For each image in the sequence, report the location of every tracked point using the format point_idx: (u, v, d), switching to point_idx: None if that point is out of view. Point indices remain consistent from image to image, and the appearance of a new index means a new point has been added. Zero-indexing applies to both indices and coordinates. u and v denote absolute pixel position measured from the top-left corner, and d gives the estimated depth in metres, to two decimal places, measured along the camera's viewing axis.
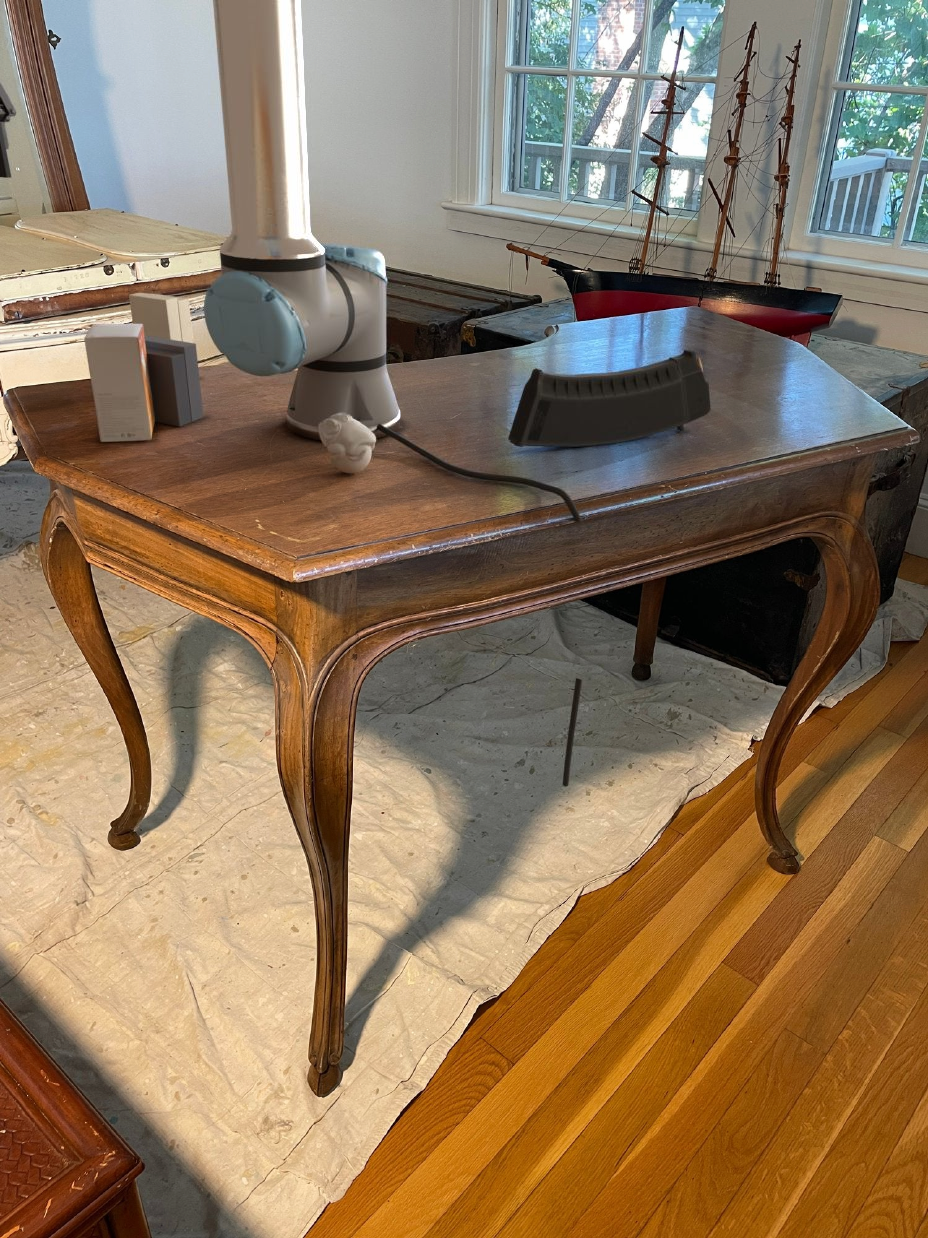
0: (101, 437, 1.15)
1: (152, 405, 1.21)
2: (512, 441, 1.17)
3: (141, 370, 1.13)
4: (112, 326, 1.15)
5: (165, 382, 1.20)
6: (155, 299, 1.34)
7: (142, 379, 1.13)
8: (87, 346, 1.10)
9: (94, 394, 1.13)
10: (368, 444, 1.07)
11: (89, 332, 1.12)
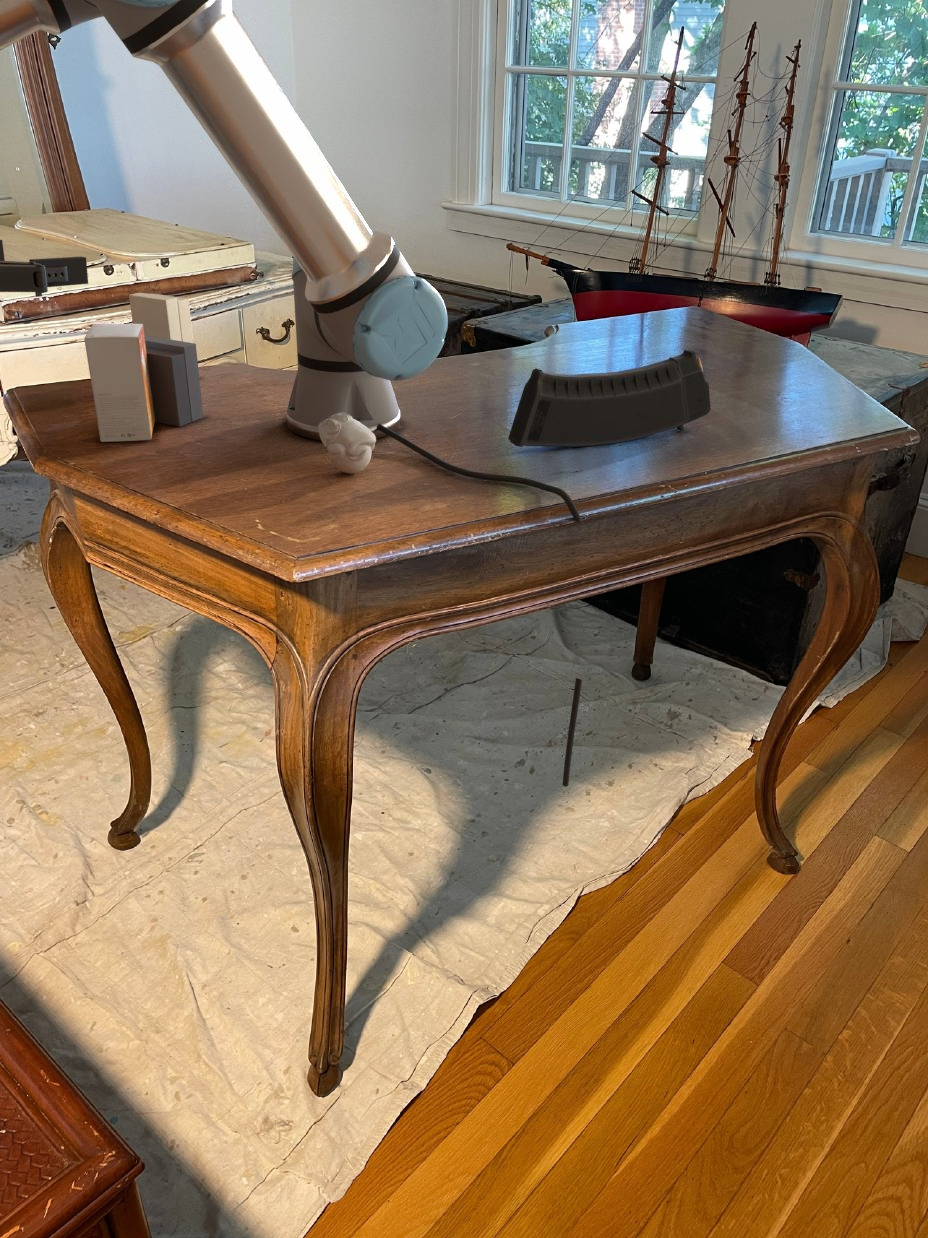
0: (101, 437, 1.15)
1: (152, 405, 1.21)
2: (512, 441, 1.17)
3: (141, 370, 1.13)
4: (112, 326, 1.15)
5: (165, 382, 1.20)
6: (155, 299, 1.34)
7: (142, 379, 1.13)
8: (87, 346, 1.10)
9: (94, 394, 1.13)
10: (368, 444, 1.07)
11: (89, 332, 1.12)
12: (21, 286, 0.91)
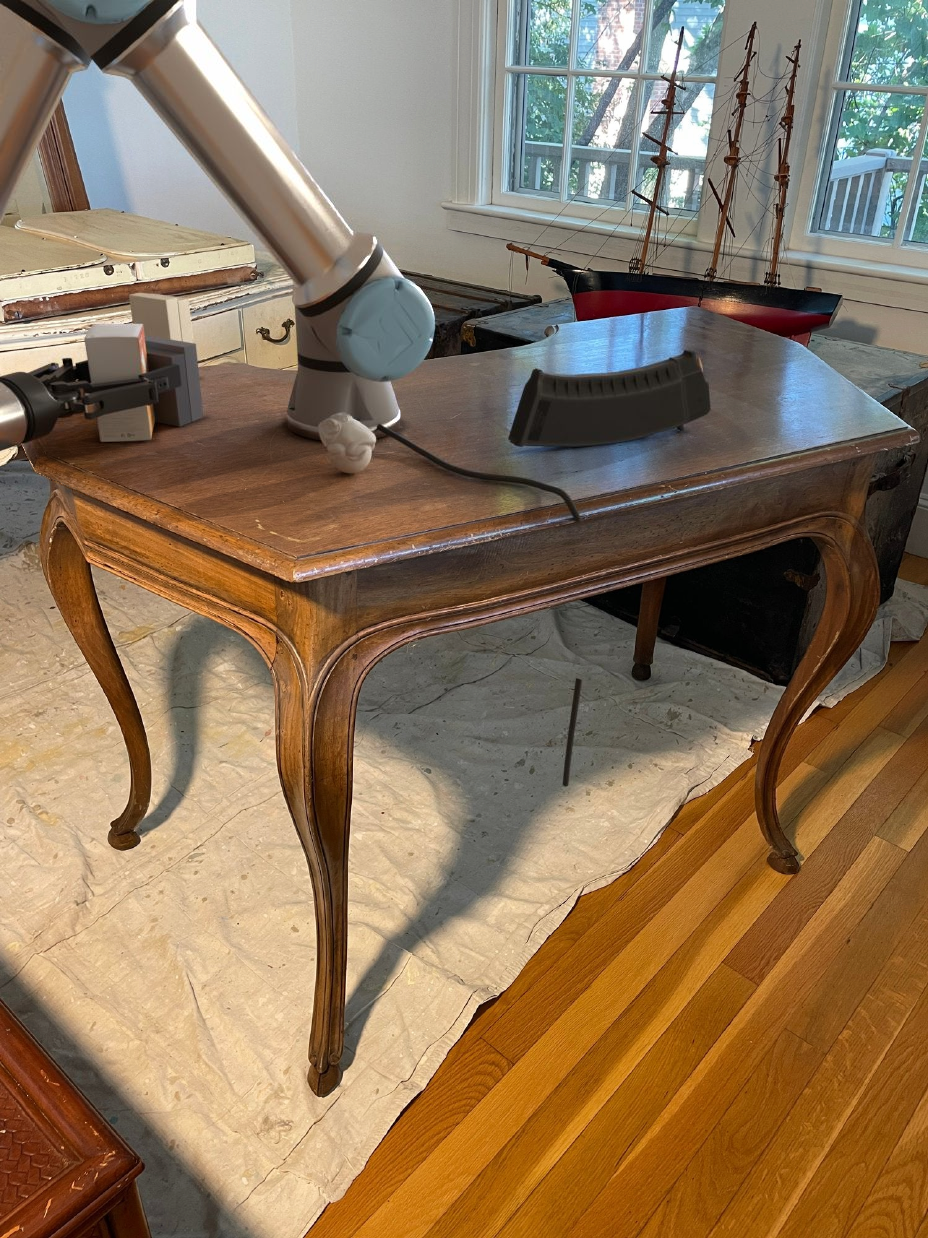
0: (101, 437, 1.15)
1: (152, 405, 1.21)
2: (512, 441, 1.17)
3: (141, 370, 1.13)
4: (112, 326, 1.15)
5: None
6: (155, 299, 1.34)
7: None
8: (87, 346, 1.10)
9: None
10: (368, 444, 1.07)
11: (89, 332, 1.12)
12: (141, 401, 1.09)
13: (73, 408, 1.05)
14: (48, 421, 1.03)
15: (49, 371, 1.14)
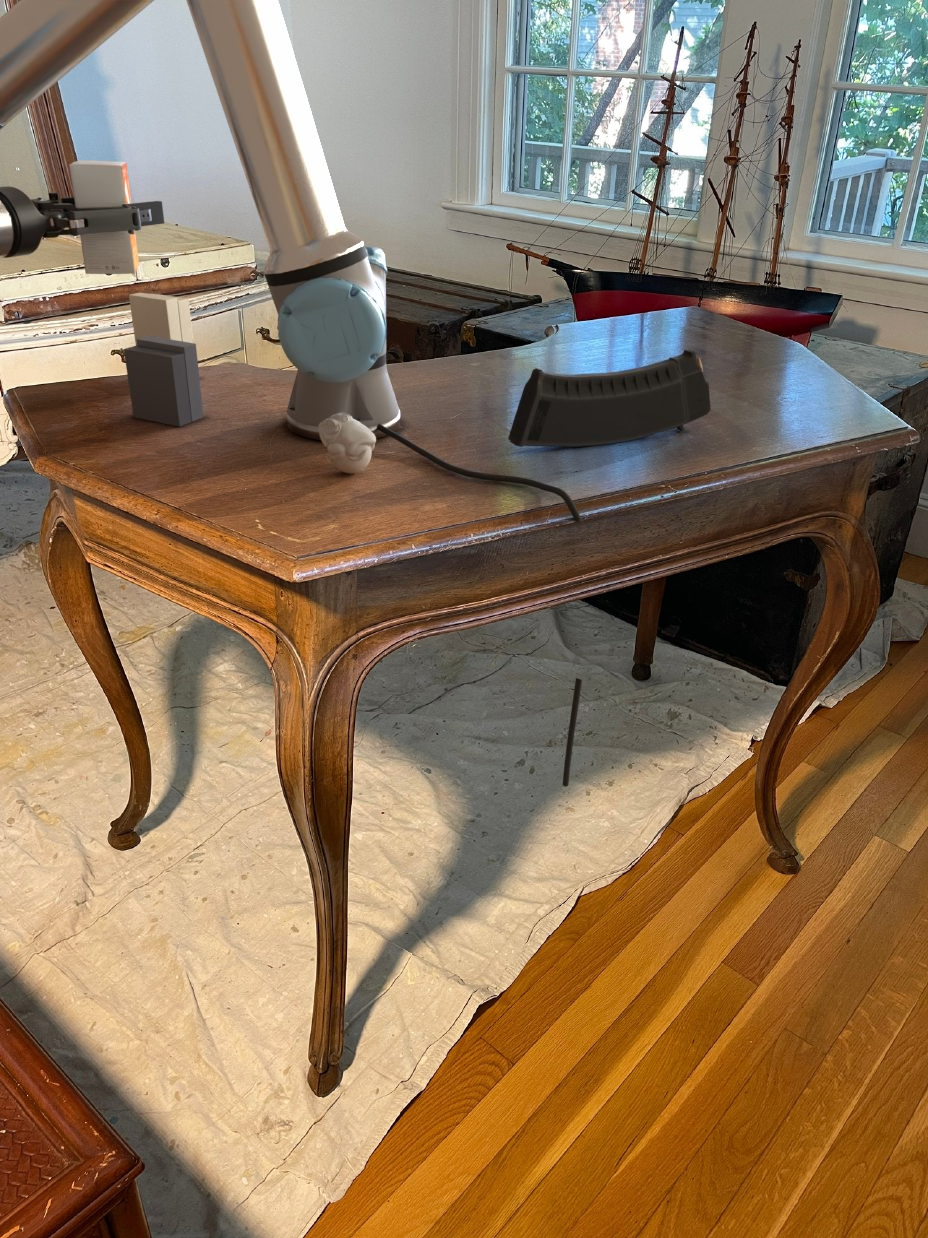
0: (86, 268, 1.19)
1: (136, 246, 1.25)
2: (512, 441, 1.17)
3: (124, 200, 1.17)
4: (97, 161, 1.19)
5: (165, 382, 1.20)
6: (155, 299, 1.34)
7: None
8: (72, 173, 1.14)
9: None
10: (368, 444, 1.07)
11: (74, 162, 1.16)
12: (124, 225, 1.13)
13: (58, 224, 1.09)
14: (34, 234, 1.07)
15: None
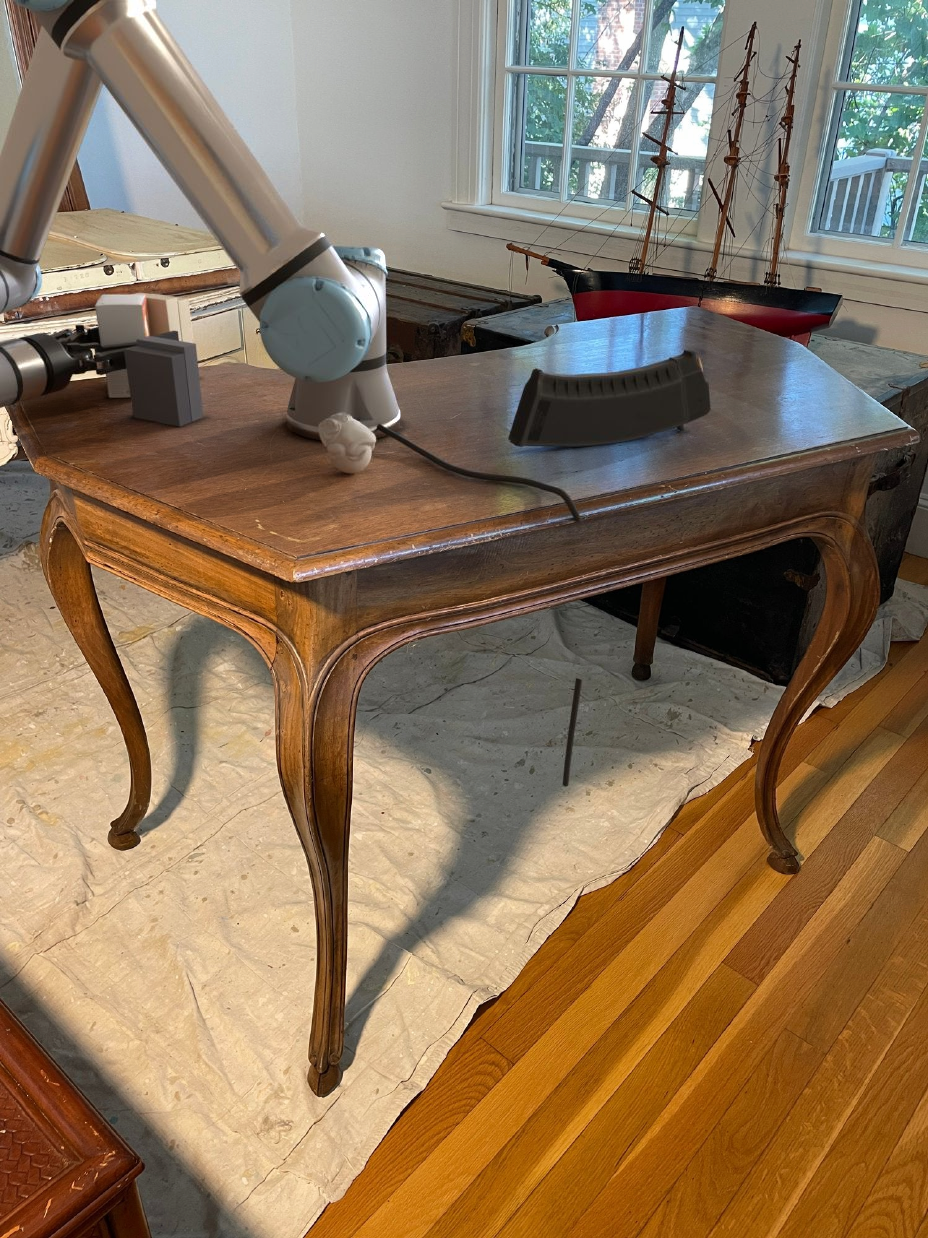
0: (109, 393, 1.32)
1: None
2: (512, 441, 1.17)
3: (144, 334, 1.29)
4: (119, 296, 1.31)
5: (165, 382, 1.20)
6: (155, 299, 1.34)
7: None
8: (97, 312, 1.26)
9: None
10: (368, 444, 1.07)
11: (99, 301, 1.28)
12: None
13: (86, 365, 1.21)
14: (65, 376, 1.20)
15: (64, 335, 1.31)
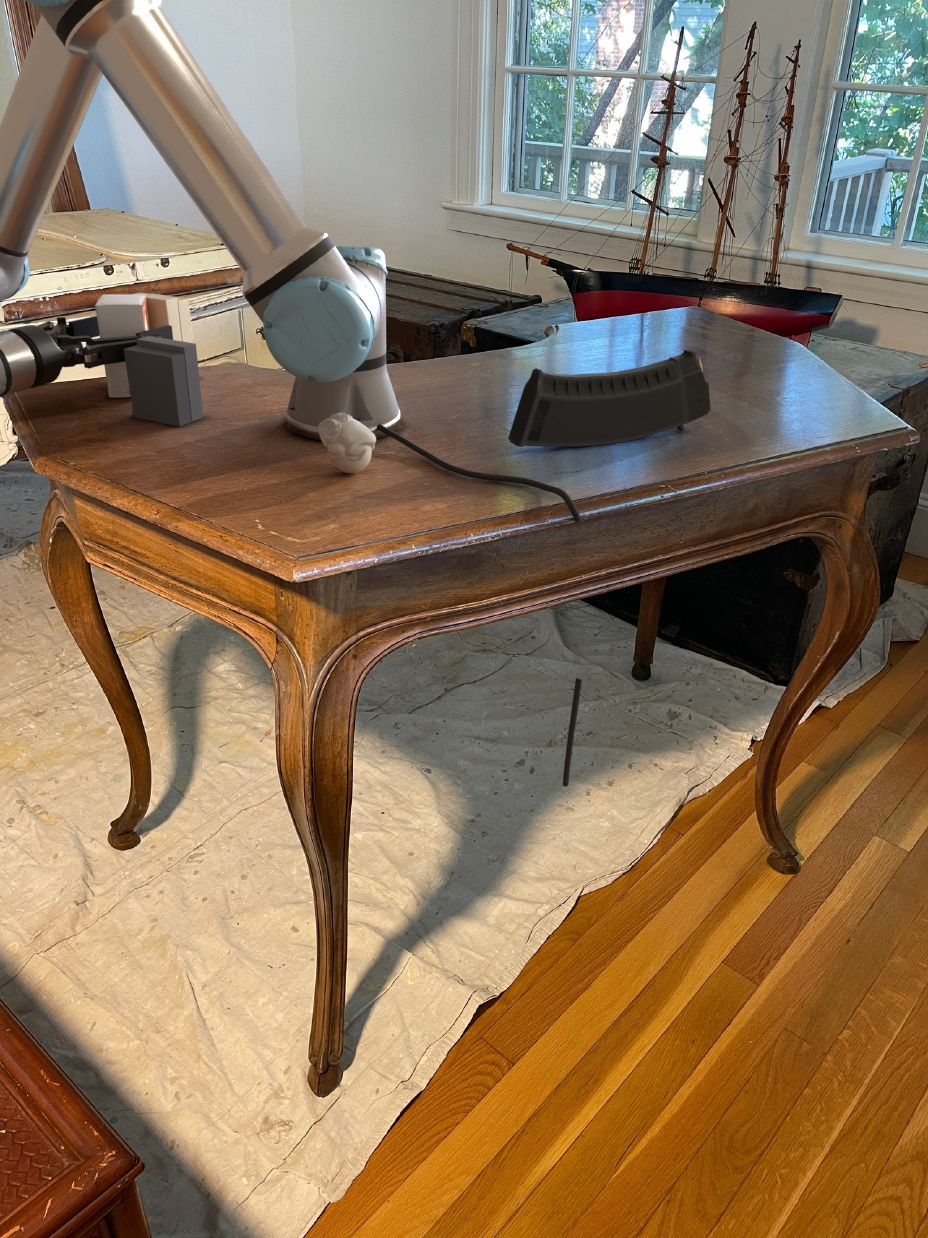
0: (109, 393, 1.32)
1: None
2: (512, 441, 1.17)
3: None
4: (119, 296, 1.31)
5: (165, 382, 1.20)
6: (155, 299, 1.34)
7: None
8: (97, 312, 1.26)
9: None
10: (368, 444, 1.07)
11: (99, 300, 1.28)
12: None
13: (75, 358, 1.20)
14: (54, 368, 1.18)
15: (47, 328, 1.29)
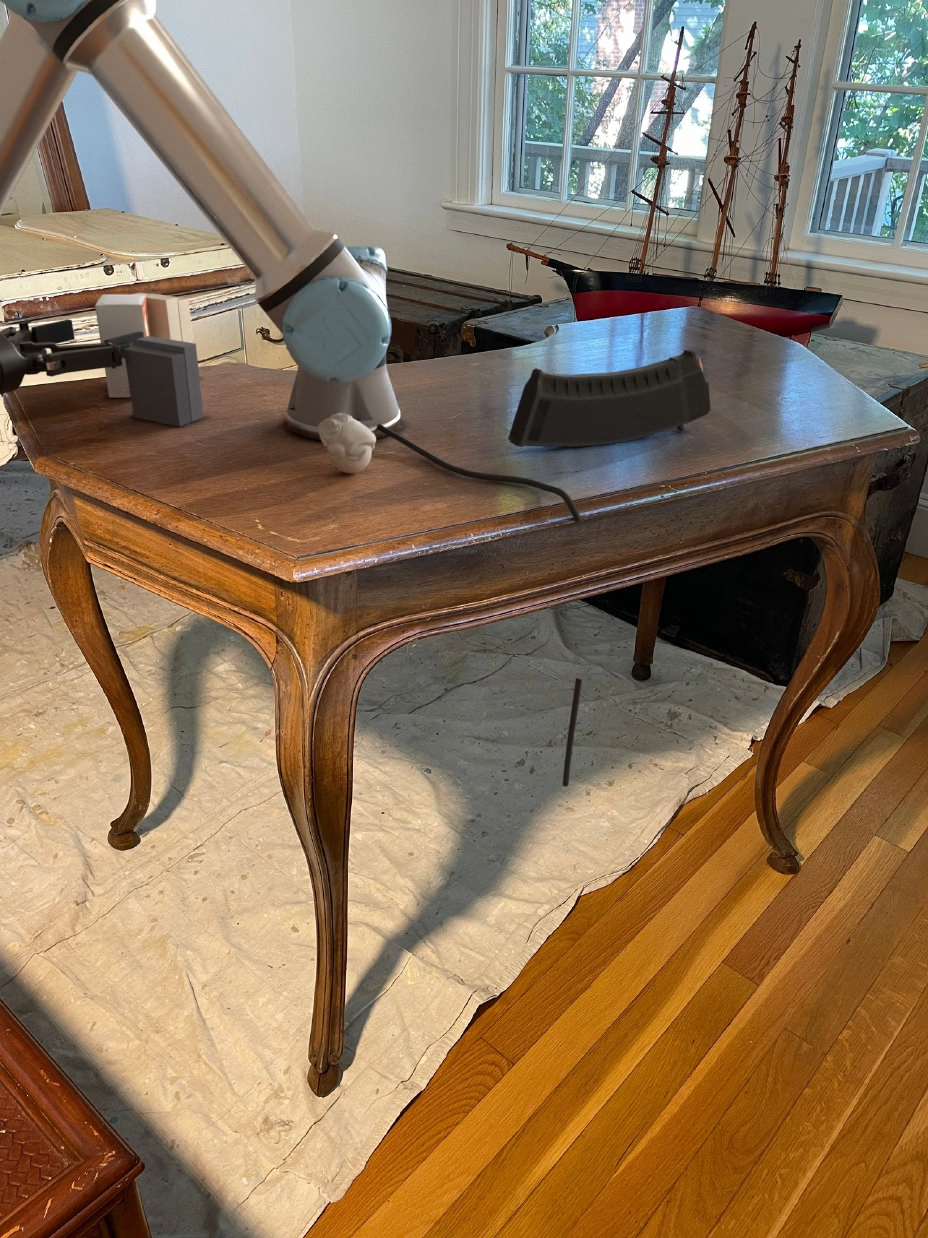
0: (109, 393, 1.32)
1: None
2: (512, 441, 1.17)
3: (144, 334, 1.29)
4: (119, 296, 1.31)
5: (165, 382, 1.20)
6: (155, 299, 1.34)
7: None
8: (97, 312, 1.26)
9: None
10: (368, 444, 1.07)
11: (99, 300, 1.28)
12: (104, 363, 1.18)
13: (37, 365, 1.15)
14: (16, 376, 1.13)
15: (10, 334, 1.24)
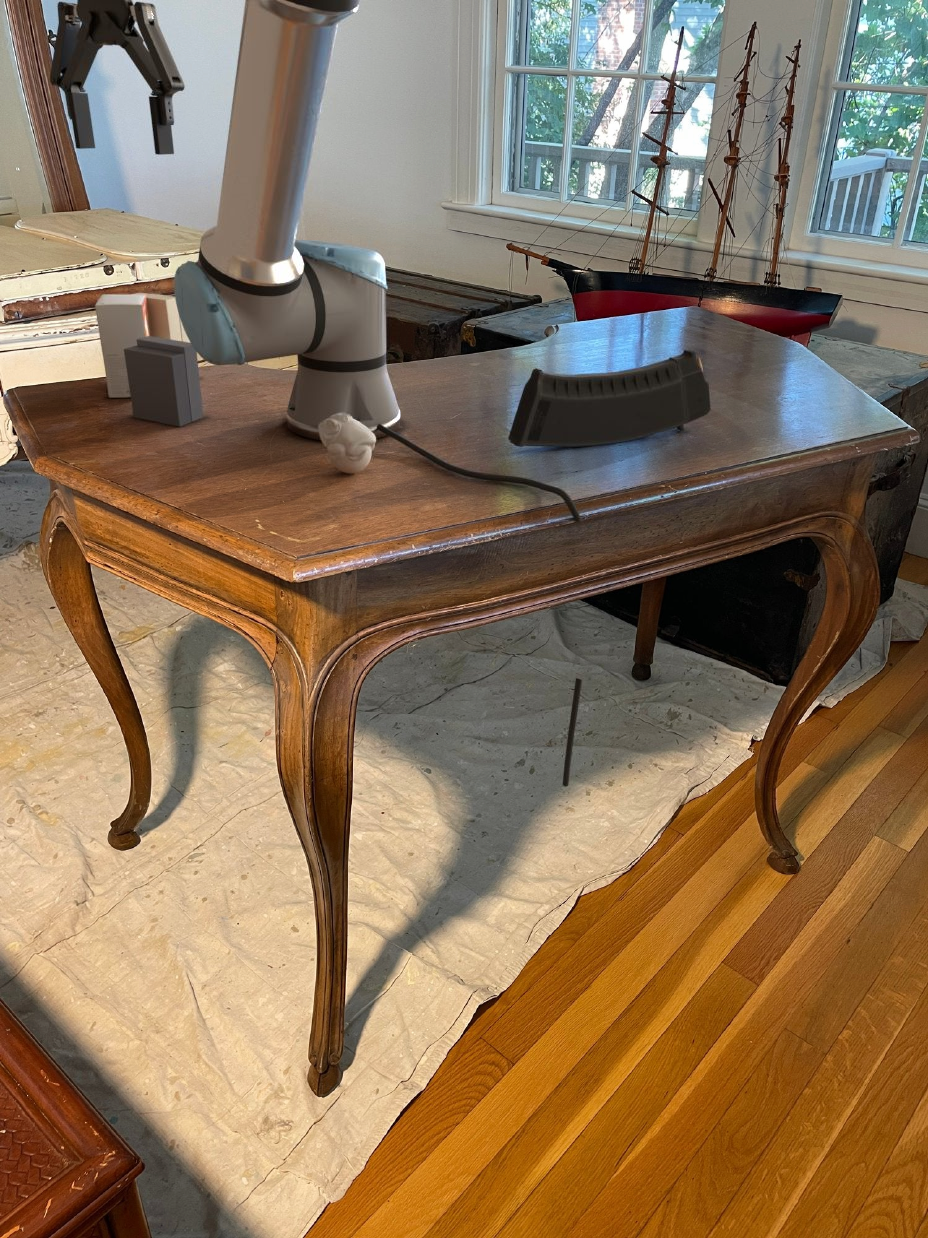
0: (109, 393, 1.32)
1: None
2: (512, 441, 1.17)
3: (144, 334, 1.29)
4: (119, 296, 1.31)
5: (165, 382, 1.20)
6: (155, 299, 1.34)
7: None
8: (97, 312, 1.26)
9: (103, 355, 1.29)
10: (368, 444, 1.07)
11: (99, 300, 1.28)
12: None
13: None
14: None
15: None
